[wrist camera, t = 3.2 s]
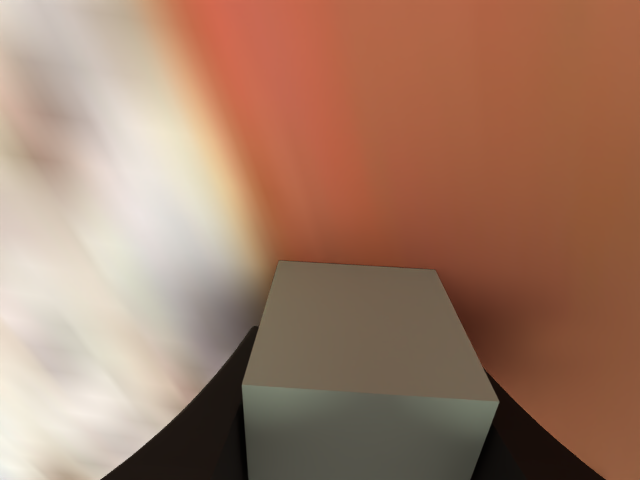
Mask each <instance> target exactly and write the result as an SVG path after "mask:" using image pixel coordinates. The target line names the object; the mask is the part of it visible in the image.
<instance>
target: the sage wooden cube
mask: <svg viewBox="0 0 640 480" xmlns="http://www.w3.org/2000/svg"><path fill="white" fill-rule="evenodd" d="M242 396H243V409H244V423H245V437H246V451H247V465H248V479H249V480H470V479H471V476H472V474H473V471H474V468H475V466H476V463H477V460H478V458H479V455H480V452H481V450H482V447H483V444H484V442H485V439H486V436H487V434H488V431H489V428H490V426H491V423H492V420H493V418H494V415H495V412H496V410H497V407H498V404H499V400H498V398H497V396H496V394H495V391H494V389H493V387H492V385H491V383H490V381H489V379H488V377H487V375H486V373H485V371H484V369H483V367H482V365H481V363H480V361H479V359H478V357H477V355H476V352H475V350H474V348H473V346H472V344H471V342H470V340H469V338H468V336H467V334H466V332H465V330H464V328H463V326H462V324H461V322H460V320H459V318H458V316H457V314H456V311H455V309H454V307H453V305H452V303H451V301H450V299H449V297H448V295H447V293H446V291H445V289H444V287H443V285H442V283H441V281H440V279H439V277H438V275H437V272H436V270H432V269H415V268H398V267H381V266H364V265H347V264H330V263H313V262H296V261H279V262H278V265H277V268H276V272H275V275H274V278H273V282H272V285H271V289H270V292H269V295H268V299H267V302H266V305H265V309H264V312H263V315H262V319H261V322H260V325H259V329H258V332H257V335H256V339H255V342H254V345H253V349H252V352H251V356H250V359H249V362H248V366H247V369H246V372H245V376H244V379H243V382H242Z"/></svg>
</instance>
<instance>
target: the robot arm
mask: <svg viewBox="0 0 640 480" xmlns="http://www.w3.org/2000/svg"><path fill="white" fill-rule="evenodd" d="M258 329H259V327H257V326H254V327H252V328H251V329H250V330H249V332H248V333H247V335H246V336H245V338H244V339H243V341H242V342H241V343H240V345H239V346H238V347H237V349H236V350H235V351H234V353H233V354H232V355H231V357H230V358H229V359H228V360H227V362H226V363H225V364H224V365H223V366H222V368H221V369H220V370H219V371H218V373H217V374H216V375H215V376H214V377H213V378H212V380H211V381H210V382H209V383H208V384H207V385H206V386H205V387H204V388H203V389H202V391H201V392H200V393H199V394H198V395H197V396H196V397H195V398H194V399H193V400H192V401H191V402H190V403H189V404H188V405H187V406H186V407H185V408H184V409H183V410H182V411H181V412H180V413H179V414H178V415H177V416H176V417H175V418H174V419H173V420H172V421H171V422H170V423H169V424H168V425H167V426H166V427H165V428H163V429H162V430H161V431H160V432H159V433H158V434H157V435H155V436H154V437H153V438H152V439H151V440H150V441H149V442H147V443H146V444H145V445H144V446H143V447H142V448H140V449H139V450H138V451H137V452H136V453H134V454H133V455H132V456H131V457H130V458H128V459H127V460H126V461H125V462H123V463H122V464H121V465H119V466H118V467H117V468H115V469H114V470H113V471H111V472H110V473H109V474H107V475H106V476H105V477H103V478H102V479H101V480H249V479H248V465H247V451H246V437H245V423H244V409H243V396H242V382H243V379H244V376H245V372H246V369H247V366H248V362H249V359H250V356H251V352H252V349H253V345H254V342H255V339H256V335H257V332H258ZM483 369H484V368H483ZM484 371H485V373H486V375H487V377H488V379H489V381H490V383H491V385H492V387H493V389H494V391H495V394H496V396H497V398H498V400H499V404H498V407H497V410H496V412H495V415H494V418H493V420H492V423H491V426H490V428H489V431H488V434H487V436H486V439H485V442H484V444H483V447H482V450H481V452H480V455H479V458H478V460H477V463H476V466H475V468H474V471H473V474H472V476H471V479H470V480H605V479H604V478H603V477H601V476H600V475H599V474H597V473H596V472H595V471H594V470H592V469H591V468H590V467H589V466H587V465H586V464H585V463H584V462H582V461H581V460H580V459H579V458H577V457H576V456H575V455H574V454H573V453H572V452H570V451H569V450H568V449H567V448H566V447H564V446H563V445H562V444H561V443H560V442H559V441H557V440H556V439H555V438H554V437H553V436H552V435H550V434H549V433H548V432H547V431H546V430H545V429H544V428H543V427H542V426H540V425H539V424H538V423H537V422H536V421H535V420H534V419H533V418H532V417H531V416H530V415H529V414H528V413H527V412H526V411H525V410H524V409H523V408H521V407H520V406H519V405H518V404H517V403H516V402H515V401H514V400H513V399H512V398H511V397H510V396H509V395H508V393H507V392H506V391H505V390H504V389H503V388H502V387H501V386H500V385H499V384H498V383H497V382H496V381H495V380H494V379H493V378H492V377H491V376H490V375H489V374H488V372H487V371H486V370H485V369H484Z"/></svg>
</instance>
